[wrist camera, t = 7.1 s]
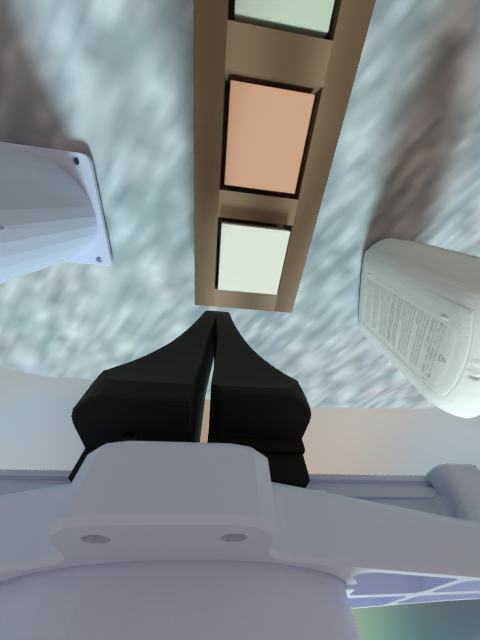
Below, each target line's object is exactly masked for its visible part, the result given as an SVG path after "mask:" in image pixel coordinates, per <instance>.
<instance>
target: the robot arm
mask: <svg viewBox="0 0 480 640" xmlns="http://www.w3.org/2000/svg"><path fill="white" fill-rule="evenodd" d="M76 157H77V158H78V159H79V164H78V165H77V164H76V162H75V158H76ZM98 257H100V258H101V259H102V261H100V260H99V259H98ZM62 261H64V262H74V263H85V264H95V265H106V266H107V265H110V264H112V262H113V259H112V254H111V249H110V244H109V239H108V235H107V230H106V225H105V220H104V215H103V210H102V205H101V200H100V195H99V191H98V186H97V181H96V176H95V171H94V166H93V162H92V160H91V158H90V157H89V156H88V155H86V154H83V153H79V152H72V151H65V150H57V149H50V148H43V147H36V146H28V145H21V144H14V143H6V142H0V284H1V283H4V282H7V281H9V280H12V279H15V278H18V277H21V276H23V275H26V274H29V273H32V272H35V271H37V270H40V269H43V268H46V267H49V266H51V265H54V264H57V263H60V262H62ZM213 358H214V370H213V377H212V383H211V400H210V419H209V420H210V421H209V433H208V443H200V436H201V427H202V419H203V411H204V402H205V395H206V389H207V385H208V380H209V376H210V372H211V367H212V363H213ZM310 418H311V411H310V407H309V404H308V402H307V399H306V397H305V395H304V392H303V391H302V389H301V387H300V385H299V383H298V381H296V380H295V379H293V378H291V377H289V376H288V375H286V374H284V373H282V372H281V371H279V370H277V369H276V368H275V367H273V366H272V365H270V364H269V363H268V362H266V361H265V360H264V359H263V358H261V357H260V356H259V355H258V354H257V353H256V352H255V351H254V350H253V349H252V348H251V347H250V346H249V345H248V344H247V343H246V341H245V340H244V339H243V337H242V336H241V335H240V333H239V331H238V330H237V328H236V327H235V325H234V323H233V321H232V319H231V316H230V314H229V313H228V312H219V311H205V312H204V313H203V314H202V316H201V317H200V318H199V319H198V320H197V321H196V322H195V323H194V324H193V325H192V326H191V327H190V328H189V329H188V330H186V331H185V332H184V333H183V334H182V335H180V336H179V337H178V338H176V339H175V340H174V341H172V342H171V343H169V344H167V345H165V346H164V347H162V348H160V349H158V350H156V351H154V352H152V353H150V354H148V355H146V356H144V357H141V358H139V359H137V360H134V361H132V362H129V363H126V364H123V365H120V366H117V367H114V368H111V369H108V370H105V371H103V372H102V373H101V374H100V375H99V376H98V377H97V379H96V380H95V381H94V382H93V383H92V385H91V386H90V387H89V389H88V390H87V391H86V393H85V394H84V395H83V397H82V398H81V399H80V401H79V402H78V403H77V404H76V406H75V407H74V408H73V412H72V420H73V423H74V426H75V428H76V430H77V432H78V434H79V436H80V438H81V440H82V442H83V444H84V446H85V450H84V452H83V453H82V455H81V457H80V458H79V460H78V462H77V464H76V465H75V467H74V469H73V470H72V471H70V470H69V471H66V470H2V469H0V640H360V638H359V635H358V631H357V628H356V624H355V621H354V618H353V614H352V611H351V609H355V608H366V607H377V606H389V605H400V604H413V603H424V602H437V601H450V600H467V599H480V470H479V469H478V468H477V467H476V466H475V465H471V464H441V465H438V466H436V467H434V468H432V469H431V470H430V471H429V472H428V473H427V475H426V476H407V475H405V476H403V475H340V474H338V475H337V474H334V475H333V474H308V471H307V468H306V464H305V460H304V457H303V454H304V452H305V448H304V445H303V441H302V437H303V435H304V433H305V430H306V428H307V426H308V424H309V422H310Z"/></svg>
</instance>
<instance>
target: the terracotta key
mask: <svg viewBox="0 0 480 640" xmlns="http://www.w3.org/2000/svg"><path fill="white" fill-rule="evenodd" d="M314 97H315V95H313V94H307V93H302V92H296V91H290V90H284V89H279V88H273V87H267V86H262V85H256V84H250V83H244V82H239V81H233V80H231V84H230V101H229V118H228V135H227V152H226V169H225V186H226V187H233V188H241V189H248V190H256V191H264V192H271V193H279V194H286V195H288V194H295V189H296V184H297V179H298V174H299V170H300V165H301V160H302V155H303V150H304V146H305V141H306V136H307V131H308V126H309V121H310V117H311V112H312V107H313V102H314Z"/></svg>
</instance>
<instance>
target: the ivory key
mask: <svg viewBox="0 0 480 640" xmlns="http://www.w3.org/2000/svg"><path fill="white" fill-rule="evenodd" d="M289 236H290V231H288V230H286V229H285V228H279V227H271V226H262V225H254V224H245V223H237V222H228V221H223V222H222V228H221V245H220V263H219V280H218V290H229V291H240V292H252V293H263V294H274V295H277V291H278V286H279V282H280V277H281V273H282V268H283V263H284V259H285V254H286V249H287V245H288V240H289Z"/></svg>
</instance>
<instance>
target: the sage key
mask: <svg viewBox="0 0 480 640" xmlns="http://www.w3.org/2000/svg"><path fill="white" fill-rule="evenodd" d="M334 1H335V0H235V21H236V22H241V23H246V24H251V25H256V26H261V27H266V28H271V29H276V30H281V31H286V32H291V33H296V34H301V35H306V36H311V37H316V38H322V39H324V38H325V36H326V34H327V33H328V30H329V25H330V20H331V15H332V11H333V6H334Z"/></svg>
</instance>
